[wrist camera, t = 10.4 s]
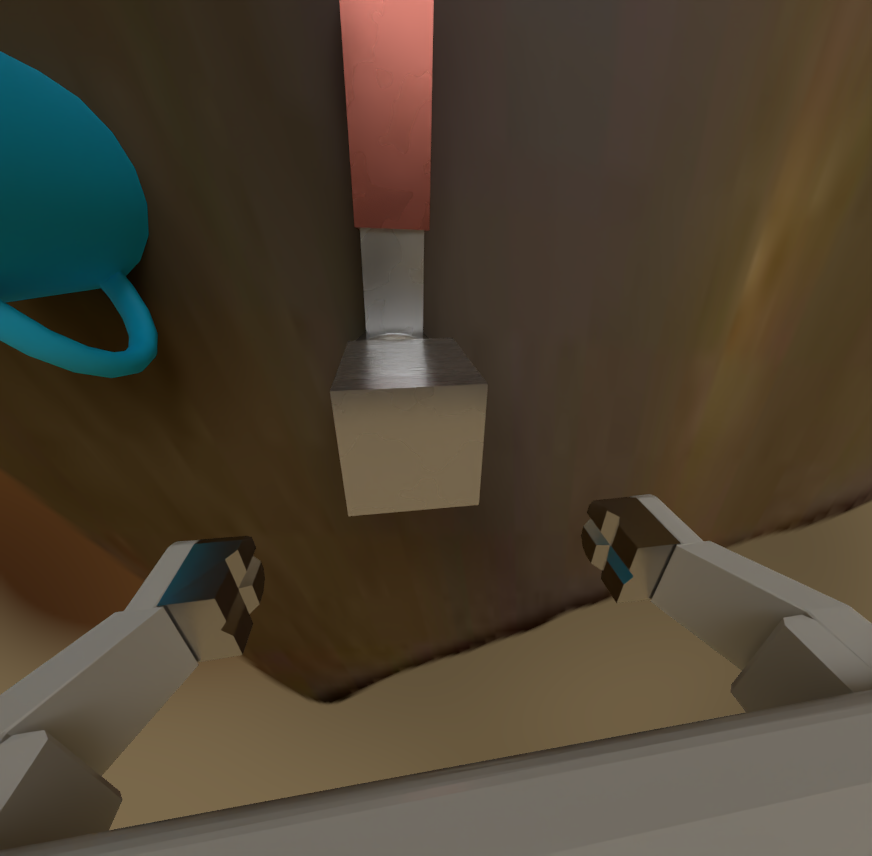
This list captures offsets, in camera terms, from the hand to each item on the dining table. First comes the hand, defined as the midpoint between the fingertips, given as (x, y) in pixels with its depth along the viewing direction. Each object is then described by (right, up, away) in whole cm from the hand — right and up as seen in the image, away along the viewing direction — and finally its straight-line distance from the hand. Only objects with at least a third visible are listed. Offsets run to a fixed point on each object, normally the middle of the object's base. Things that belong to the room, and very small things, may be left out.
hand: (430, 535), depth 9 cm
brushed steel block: (-2, +5, +9) cm, 11 cm away
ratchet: (-2, +11, +9) cm, 15 cm away
